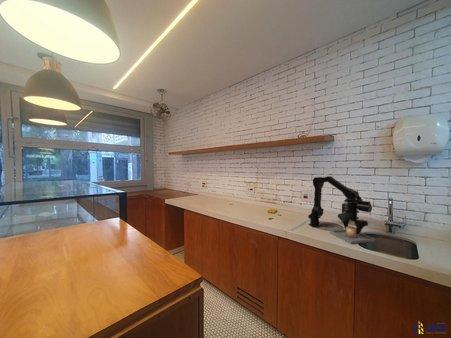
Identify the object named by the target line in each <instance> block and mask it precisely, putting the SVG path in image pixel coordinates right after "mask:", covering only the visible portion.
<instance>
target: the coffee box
mask: <svg viewBox="0 0 451 338" xmlns="http://www.w3.org/2000/svg"><path fill="white" fill-rule="evenodd" d="M346 210H347V202H343V203H342V204H341V214H342V213H345V211H346ZM341 223H342V224H343V222H342V221H341ZM348 225H349V226H355V225H356V224H355V222H354V221H351V220H349V223H348Z"/></svg>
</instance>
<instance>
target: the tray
mask: <svg viewBox="0 0 451 338" xmlns="http://www.w3.org/2000/svg"><path fill="white" fill-rule="evenodd" d="M329 234H331V235H333V236H334V237H336V238H339V239H340V238H341V240H342V239H343V240H342V241H344V240H345V241H344V242H346V243H347V244H350V245H357V244H369V243H375V242H376V238H374V237H372V236H370V235H367V234H365V233H363V232H360V233H359V234H358V235H357V238H349V237H347V236H346V229H345V228H344V229H334V230H333V229H332V230H329Z"/></svg>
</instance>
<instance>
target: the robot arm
mask: <svg viewBox="0 0 451 338" xmlns="http://www.w3.org/2000/svg"><path fill="white" fill-rule="evenodd" d="M325 183H329V184H330V185H331V186H333V187H335V189H337V190H339V191H340V192H341V193H342V194H343V196H344V197H345V199H344V200H343V203H347V210H346V211H345V213H342V212H341V213H338V215H337V218H339V220H340V221H341V223H342V222H343V223H342V224H343V227H344V229H346V227H347V226H349V224H348V223H349V220H351V221H354V222H355V225H354V226H355V228H356V233H357V235H358V234H359V233H361V231H362V230H363V229H364V227H366V226H369V222H368V221H367V220H364V219H359V218H360V217H359V216H358V214H359V213H360V212H365V213H371V212H372V209H373V206H372V204H371V201H365V200H363V199H362V197H361V196H360V194H359V192H358V191H357V190H355V189H353V188H350V187H348V186H346V185H344V184H342V183H341V182H340V181H338V180H337V179H336V178H335V177H333V176H330V175H329V176H325V177H324V176H315V177H314V178H313V179H312V186H313V187H314V195H313V196H314V197H313V198H314V201H313V207H312V209H311V213H310V214H309V215H308V216H307V217H308V219H309V221H310V223H308V225H309V226H310V227H312V228H320V227H321V225H320V219H321V218H322V216H323V214H324V208H322V190H323V187H324V184H325Z"/></svg>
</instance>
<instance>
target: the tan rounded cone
mask: <svg viewBox="0 0 451 338" xmlns="http://www.w3.org/2000/svg"><path fill="white" fill-rule="evenodd" d="M346 236H347V237H349V238H357V233H356V226H355V227H354V226H352V225H348V226H347V227H346Z"/></svg>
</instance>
